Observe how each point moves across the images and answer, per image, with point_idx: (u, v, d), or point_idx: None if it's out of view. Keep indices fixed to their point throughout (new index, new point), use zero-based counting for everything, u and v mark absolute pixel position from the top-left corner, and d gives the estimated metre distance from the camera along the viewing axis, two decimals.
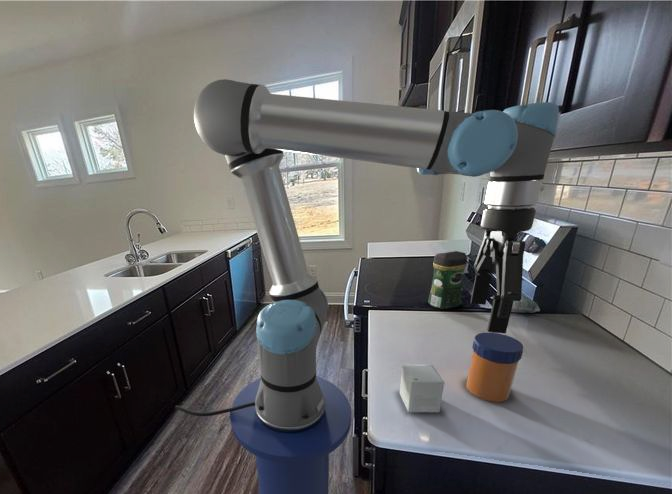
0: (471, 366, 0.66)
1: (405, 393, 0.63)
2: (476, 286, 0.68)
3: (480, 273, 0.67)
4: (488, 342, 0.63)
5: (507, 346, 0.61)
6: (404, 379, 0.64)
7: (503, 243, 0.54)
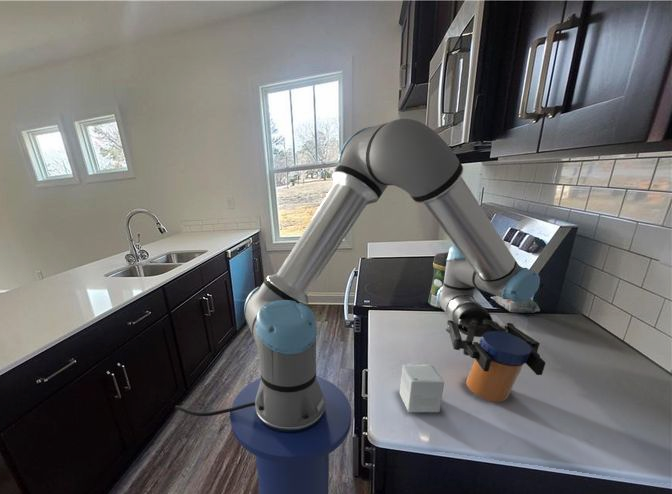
0: (476, 366, 0.65)
1: (405, 393, 0.63)
2: None
3: None
4: (512, 348, 0.60)
5: (515, 341, 0.62)
6: (404, 379, 0.64)
7: (497, 323, 0.73)
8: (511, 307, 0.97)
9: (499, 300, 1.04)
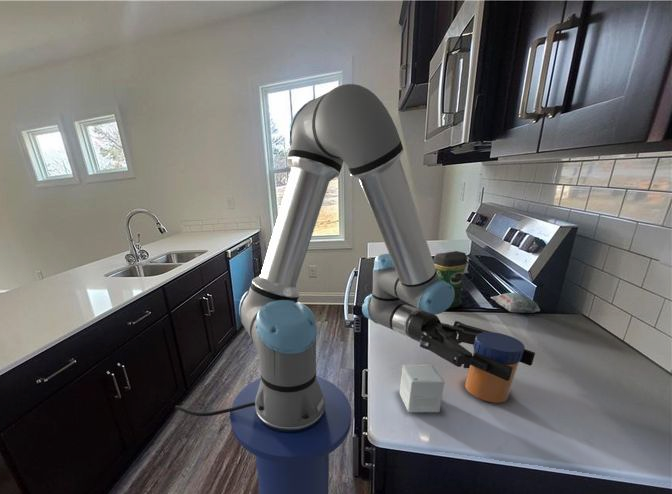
0: (479, 373, 0.63)
1: (405, 393, 0.63)
2: None
3: None
4: (511, 345, 0.61)
5: (501, 337, 0.64)
6: (404, 379, 0.64)
7: (448, 324, 0.75)
8: (511, 307, 0.97)
9: (499, 300, 1.04)
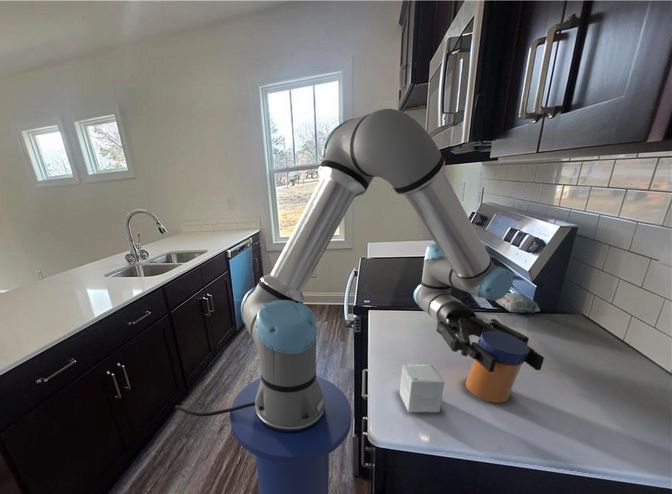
0: (483, 373, 0.63)
1: (405, 393, 0.63)
2: None
3: None
4: (517, 345, 0.61)
5: (501, 336, 0.63)
6: (404, 379, 0.64)
7: (482, 320, 0.74)
8: (511, 307, 0.97)
9: (499, 300, 1.04)
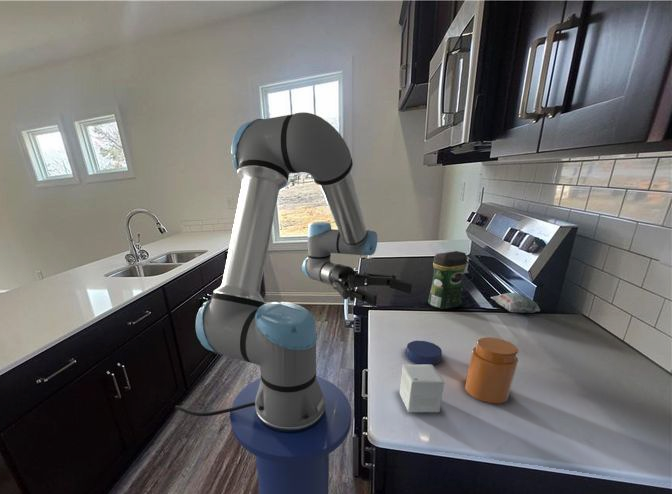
0: (480, 375, 0.63)
1: (405, 393, 0.63)
2: None
3: None
4: (431, 347, 0.79)
5: (418, 344, 0.81)
6: (404, 379, 0.64)
7: None
8: (511, 307, 0.97)
9: (499, 300, 1.04)
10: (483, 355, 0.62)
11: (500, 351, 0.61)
